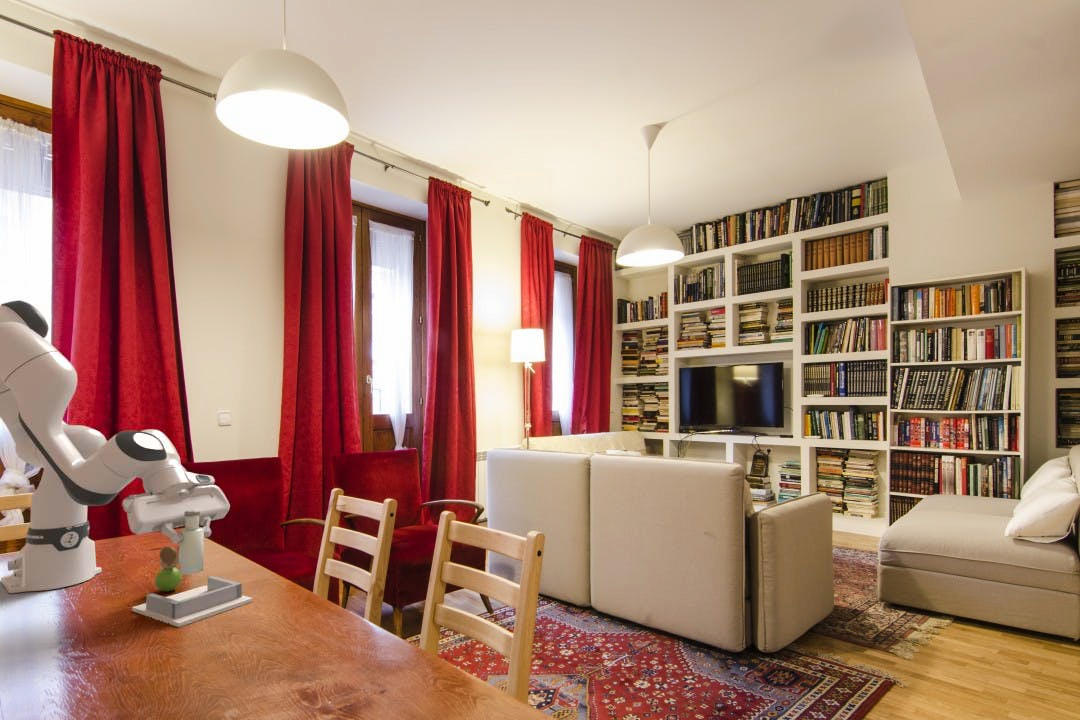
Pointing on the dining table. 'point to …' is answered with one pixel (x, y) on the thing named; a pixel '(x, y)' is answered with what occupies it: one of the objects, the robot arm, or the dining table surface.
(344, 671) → the dining table surface
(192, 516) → the pale green bottle
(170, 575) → the snail figurine
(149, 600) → the u stand
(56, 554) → the robot arm
